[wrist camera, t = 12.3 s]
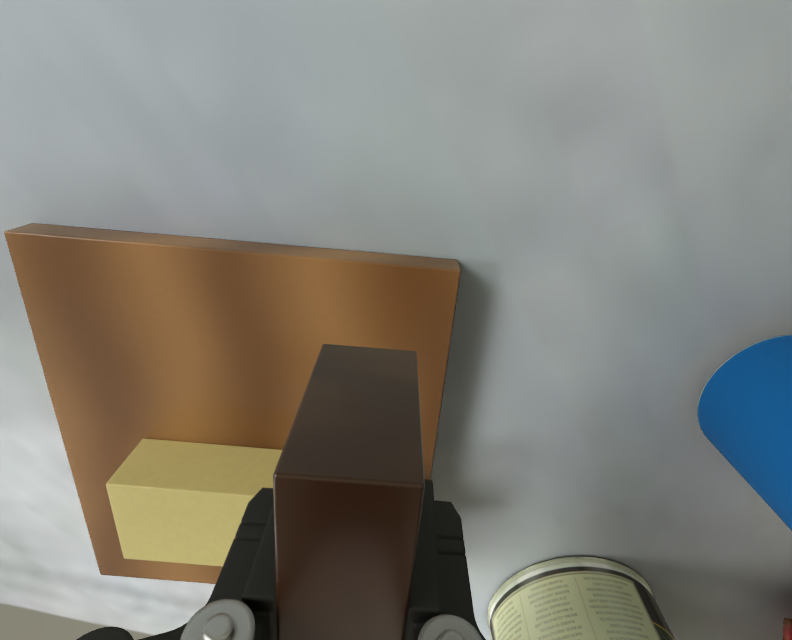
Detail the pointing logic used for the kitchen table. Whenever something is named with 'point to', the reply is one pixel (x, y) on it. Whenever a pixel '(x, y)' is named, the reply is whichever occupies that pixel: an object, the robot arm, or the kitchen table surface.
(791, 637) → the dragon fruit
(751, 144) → the kitchen table surface
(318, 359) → the knife
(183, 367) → the board
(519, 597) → the coffee can
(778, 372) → the beverage can
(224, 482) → the butter
